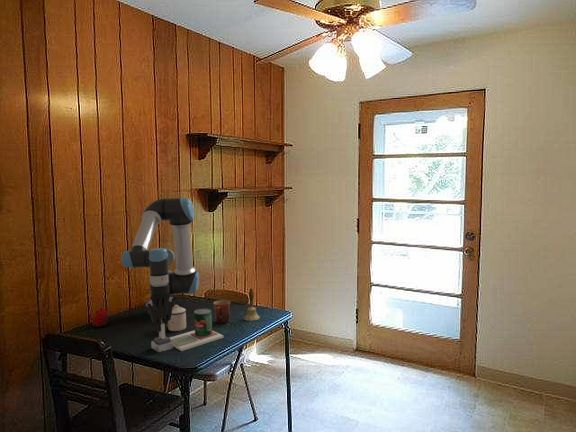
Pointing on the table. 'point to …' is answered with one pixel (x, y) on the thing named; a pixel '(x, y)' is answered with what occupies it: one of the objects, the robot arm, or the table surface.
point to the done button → (162, 340)
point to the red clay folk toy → (100, 317)
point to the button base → (162, 346)
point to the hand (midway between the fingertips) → (162, 337)
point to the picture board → (193, 340)
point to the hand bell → (251, 309)
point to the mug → (222, 311)
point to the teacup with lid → (177, 319)
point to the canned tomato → (203, 322)
